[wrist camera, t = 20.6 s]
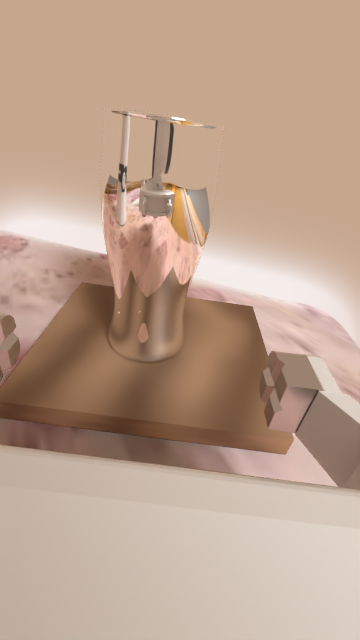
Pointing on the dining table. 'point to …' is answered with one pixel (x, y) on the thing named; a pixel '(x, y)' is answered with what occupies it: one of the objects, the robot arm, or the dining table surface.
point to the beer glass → (155, 222)
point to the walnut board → (148, 378)
